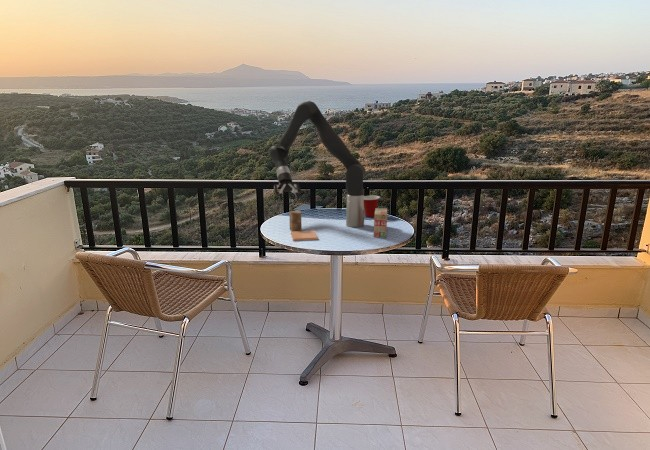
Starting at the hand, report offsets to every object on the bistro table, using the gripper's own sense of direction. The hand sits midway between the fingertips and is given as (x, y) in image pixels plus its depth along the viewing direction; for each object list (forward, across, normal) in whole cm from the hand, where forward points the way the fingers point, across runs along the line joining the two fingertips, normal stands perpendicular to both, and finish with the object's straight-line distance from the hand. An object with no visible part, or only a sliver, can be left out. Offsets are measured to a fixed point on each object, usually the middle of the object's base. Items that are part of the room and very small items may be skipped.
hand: (289, 200), depth 216 cm
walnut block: (+18, 0, +2) cm, 18 cm away
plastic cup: (+7, +50, +13) cm, 52 cm away
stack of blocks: (+29, +41, -9) cm, 51 cm away
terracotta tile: (+26, +1, -6) cm, 27 cm away
